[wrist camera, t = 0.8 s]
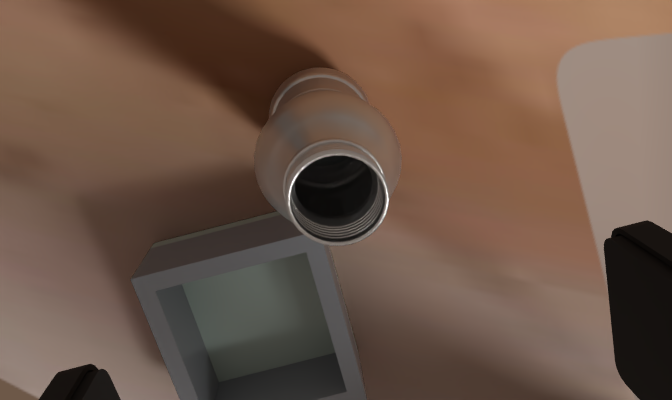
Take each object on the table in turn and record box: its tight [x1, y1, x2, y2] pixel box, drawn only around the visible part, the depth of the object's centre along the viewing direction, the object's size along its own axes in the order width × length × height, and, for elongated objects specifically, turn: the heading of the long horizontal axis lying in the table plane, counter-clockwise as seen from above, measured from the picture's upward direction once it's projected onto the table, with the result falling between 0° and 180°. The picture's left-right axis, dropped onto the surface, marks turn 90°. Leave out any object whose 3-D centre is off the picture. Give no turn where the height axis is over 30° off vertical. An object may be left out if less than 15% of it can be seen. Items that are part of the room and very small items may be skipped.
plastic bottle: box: [254, 67, 402, 246], centre depth 29 cm, size 6×7×20 cm
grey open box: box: [130, 211, 367, 400], centre depth 40 cm, size 13×12×6 cm
